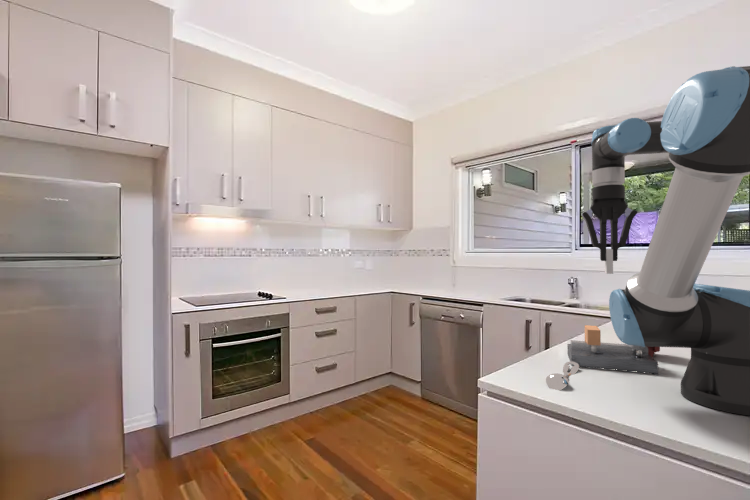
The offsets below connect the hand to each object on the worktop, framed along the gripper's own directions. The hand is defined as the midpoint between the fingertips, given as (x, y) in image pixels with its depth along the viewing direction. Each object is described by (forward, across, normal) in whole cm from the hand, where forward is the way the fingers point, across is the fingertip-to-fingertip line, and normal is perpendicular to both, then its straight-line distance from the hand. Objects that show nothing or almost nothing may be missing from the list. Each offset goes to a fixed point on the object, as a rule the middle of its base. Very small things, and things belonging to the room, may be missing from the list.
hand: (608, 273), depth 104 cm
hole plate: (+24, 0, -1) cm, 24 cm away
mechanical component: (+25, -12, -15) cm, 31 cm away
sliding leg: (+21, +4, -1) cm, 21 cm away
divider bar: (+21, 0, -1) cm, 21 cm away
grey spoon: (+25, +12, +17) cm, 32 cm away
